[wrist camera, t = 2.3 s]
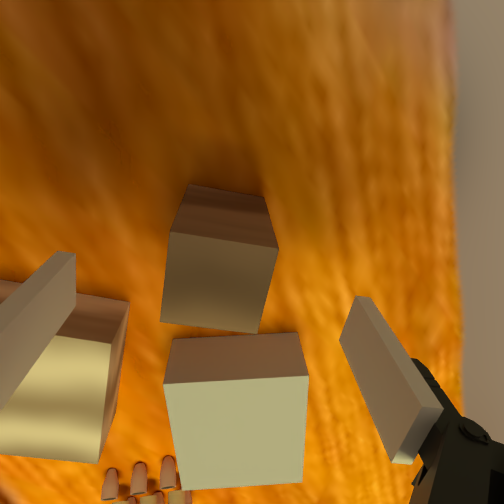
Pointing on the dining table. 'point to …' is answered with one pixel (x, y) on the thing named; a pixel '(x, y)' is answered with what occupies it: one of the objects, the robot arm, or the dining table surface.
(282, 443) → the grey painted block
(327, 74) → the dining table surface
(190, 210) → the walnut block
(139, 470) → the ammunition
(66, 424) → the pale oak block
